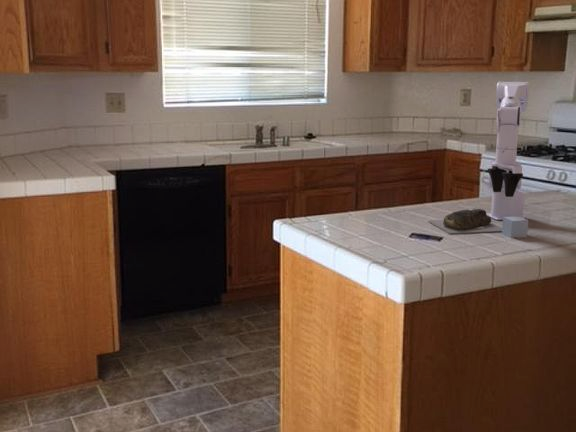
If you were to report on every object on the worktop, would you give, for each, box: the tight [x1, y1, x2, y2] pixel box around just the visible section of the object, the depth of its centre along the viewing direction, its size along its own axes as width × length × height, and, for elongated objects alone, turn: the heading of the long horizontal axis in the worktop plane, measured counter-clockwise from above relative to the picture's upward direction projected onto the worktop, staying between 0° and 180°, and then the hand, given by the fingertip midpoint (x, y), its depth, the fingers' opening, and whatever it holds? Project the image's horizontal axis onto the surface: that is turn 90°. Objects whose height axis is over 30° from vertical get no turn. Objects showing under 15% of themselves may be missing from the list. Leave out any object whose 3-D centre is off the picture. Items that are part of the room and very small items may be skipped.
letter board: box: [427, 219, 502, 235], centre depth 194 cm, size 18×16×1 cm
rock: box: [443, 208, 492, 230], centre depth 193 cm, size 8×16×4 cm, turn 127°
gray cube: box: [501, 216, 529, 239], centre depth 183 cm, size 5×5×5 cm
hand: (503, 194), depth 190 cm, fingers open, 7 cm apart
